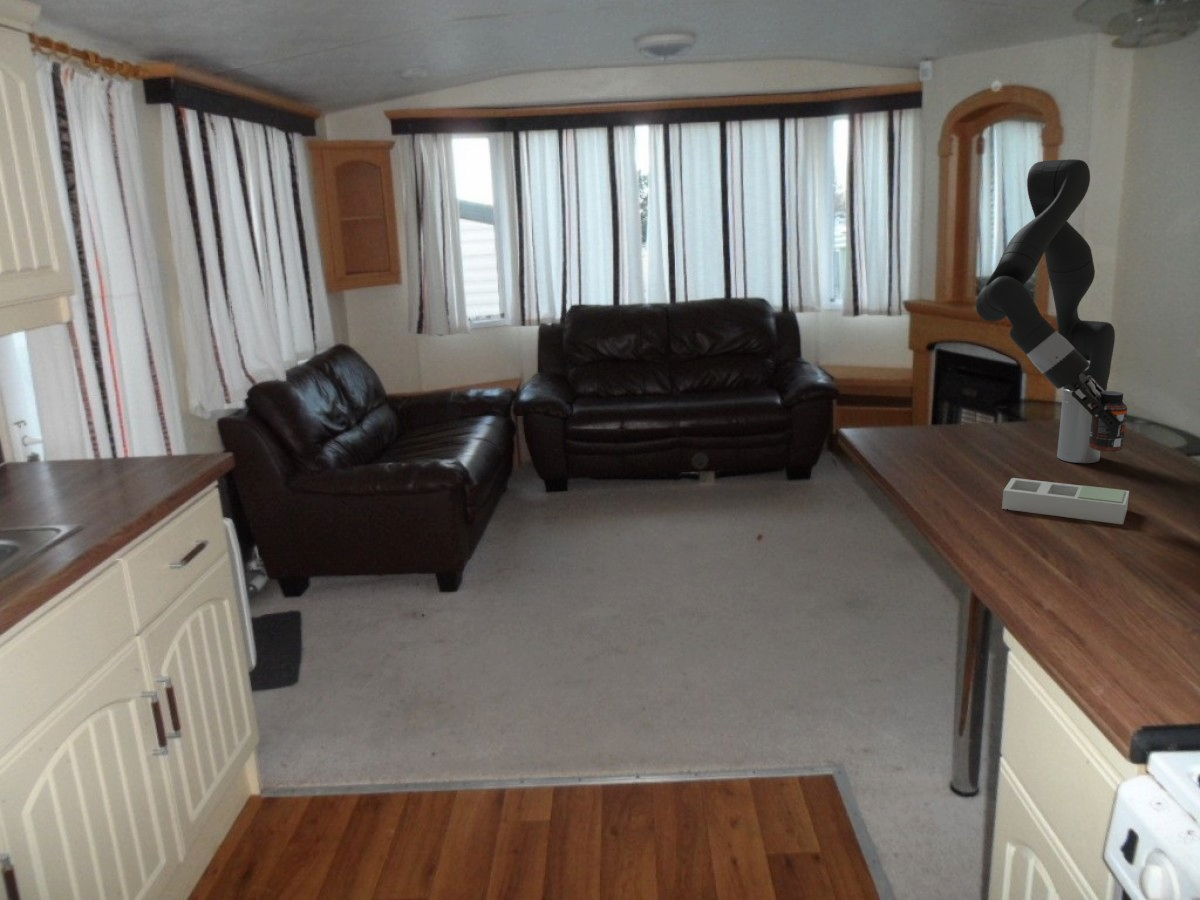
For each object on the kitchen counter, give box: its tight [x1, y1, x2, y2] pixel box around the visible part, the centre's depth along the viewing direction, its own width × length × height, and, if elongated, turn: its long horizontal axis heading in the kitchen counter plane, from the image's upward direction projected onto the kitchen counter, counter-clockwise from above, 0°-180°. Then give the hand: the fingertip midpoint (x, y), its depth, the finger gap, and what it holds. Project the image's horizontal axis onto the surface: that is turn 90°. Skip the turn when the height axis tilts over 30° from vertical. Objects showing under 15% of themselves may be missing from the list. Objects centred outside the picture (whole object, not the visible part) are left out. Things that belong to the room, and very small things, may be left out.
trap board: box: [1001, 477, 1130, 525], centre depth 192 cm, size 10×22×4 cm, turn 58°
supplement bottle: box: [1089, 390, 1128, 453], centre depth 185 cm, size 6×6×11 cm
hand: (1118, 423), depth 184 cm, fingers closed on supplement bottle, 6 cm apart
